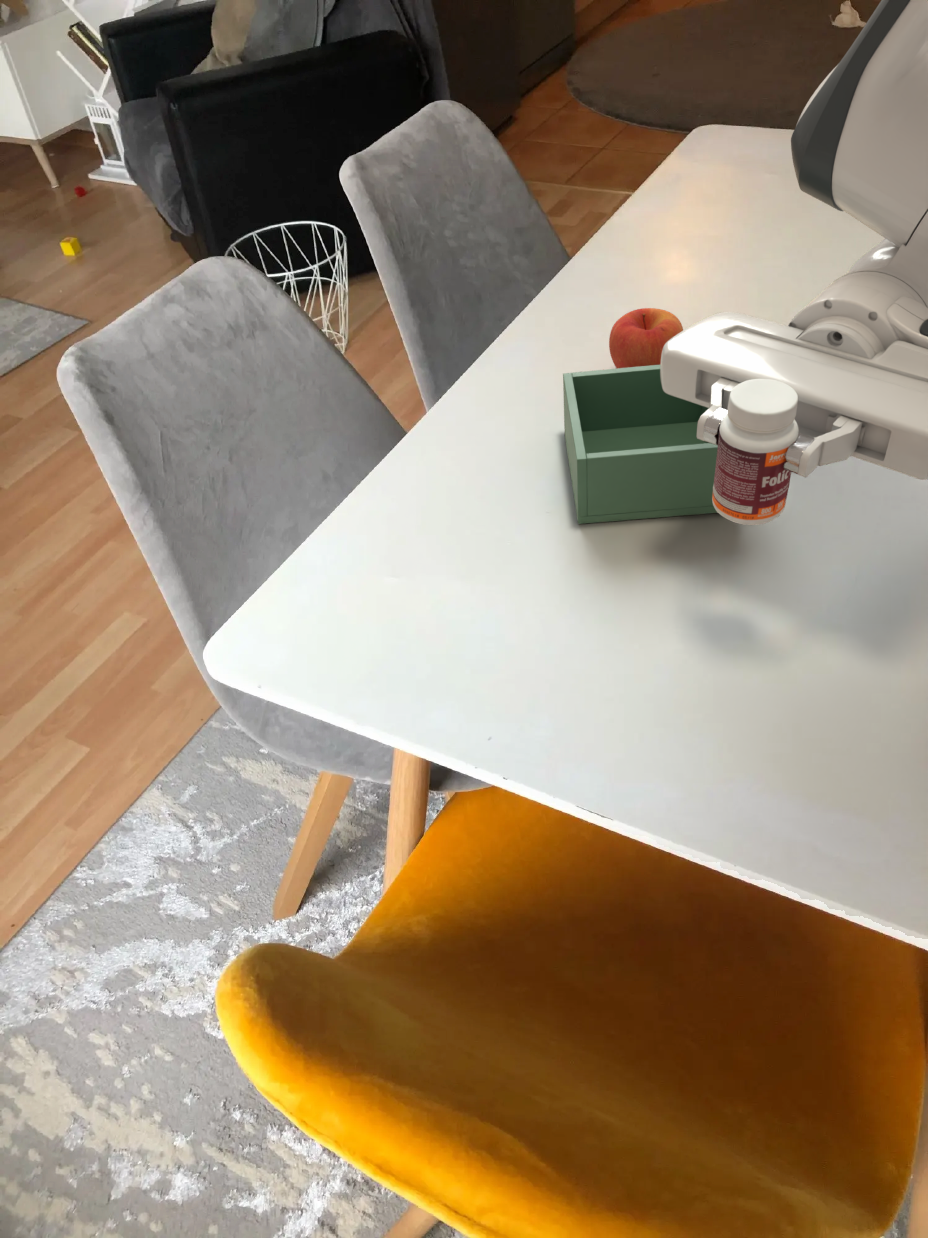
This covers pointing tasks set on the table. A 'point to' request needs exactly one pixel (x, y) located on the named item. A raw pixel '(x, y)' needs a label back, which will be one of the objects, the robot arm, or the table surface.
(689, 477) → the bin
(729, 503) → the pill bottle
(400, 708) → the table surface
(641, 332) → the apple
